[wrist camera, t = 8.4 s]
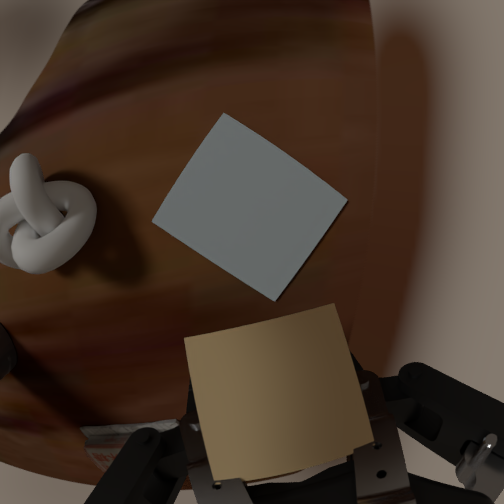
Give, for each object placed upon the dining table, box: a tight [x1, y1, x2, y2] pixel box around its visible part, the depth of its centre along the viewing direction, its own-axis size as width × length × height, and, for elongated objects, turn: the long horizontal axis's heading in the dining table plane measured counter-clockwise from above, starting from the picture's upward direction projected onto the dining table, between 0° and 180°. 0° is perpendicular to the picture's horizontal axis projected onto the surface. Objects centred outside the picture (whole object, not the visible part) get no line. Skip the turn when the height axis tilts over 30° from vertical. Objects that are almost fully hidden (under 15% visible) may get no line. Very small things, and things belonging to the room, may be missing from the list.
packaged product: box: [80, 419, 179, 472], centre depth 31 cm, size 18×5×10 cm
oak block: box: [184, 303, 375, 485], centre depth 11 cm, size 4×4×11 cm
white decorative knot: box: [0, 153, 97, 274], centre depth 21 cm, size 11×12×9 cm
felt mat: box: [152, 113, 347, 301], centre depth 26 cm, size 14×12×1 cm
